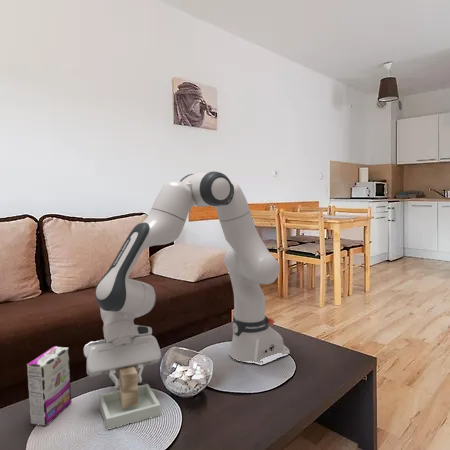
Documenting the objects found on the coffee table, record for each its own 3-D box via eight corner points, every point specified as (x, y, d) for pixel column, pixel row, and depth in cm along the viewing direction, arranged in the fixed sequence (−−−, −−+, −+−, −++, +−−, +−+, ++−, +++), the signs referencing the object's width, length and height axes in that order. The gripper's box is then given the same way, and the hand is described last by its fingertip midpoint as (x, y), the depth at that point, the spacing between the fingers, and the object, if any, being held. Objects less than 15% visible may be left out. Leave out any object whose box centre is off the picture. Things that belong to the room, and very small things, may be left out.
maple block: (134, 396, 107) (133, 366, 106) (137, 404, 104) (137, 372, 103) (119, 400, 105) (119, 369, 104) (122, 408, 102) (122, 375, 101)
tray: (148, 393, 113) (147, 383, 113) (160, 415, 103) (160, 404, 102) (98, 405, 107) (98, 395, 106) (106, 430, 96) (106, 419, 96)
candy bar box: (56, 400, 109) (53, 345, 107) (71, 402, 108) (70, 347, 106) (28, 424, 98) (25, 363, 96) (45, 427, 97) (43, 365, 95)
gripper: (83, 338, 104) (89, 389, 96) (156, 326, 113) (167, 372, 106) (81, 347, 108) (87, 397, 101) (152, 335, 118) (162, 380, 110)
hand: (129, 384), depth 103 cm, fingers closed on maple block, 4 cm apart
